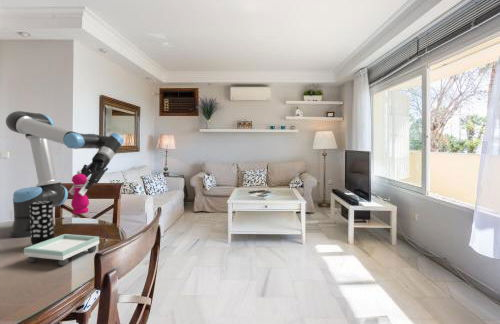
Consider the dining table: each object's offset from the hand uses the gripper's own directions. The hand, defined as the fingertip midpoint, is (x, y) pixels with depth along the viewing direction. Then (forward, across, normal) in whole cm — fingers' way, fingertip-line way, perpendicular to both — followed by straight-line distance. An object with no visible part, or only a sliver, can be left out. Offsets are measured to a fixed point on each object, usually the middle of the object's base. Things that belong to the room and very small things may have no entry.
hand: (75, 193), depth 127 cm
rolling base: (+26, -9, -6) cm, 29 cm away
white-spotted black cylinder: (+22, +11, -11) cm, 27 cm away
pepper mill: (+5, 0, -8) cm, 10 cm away
